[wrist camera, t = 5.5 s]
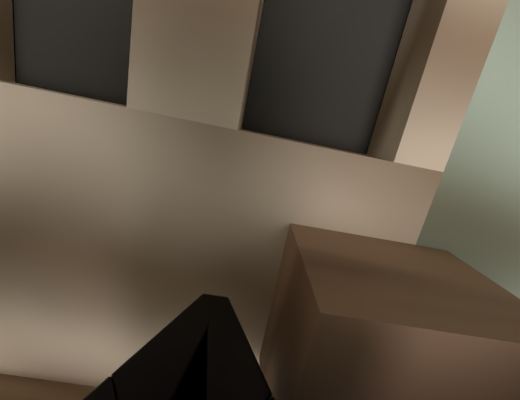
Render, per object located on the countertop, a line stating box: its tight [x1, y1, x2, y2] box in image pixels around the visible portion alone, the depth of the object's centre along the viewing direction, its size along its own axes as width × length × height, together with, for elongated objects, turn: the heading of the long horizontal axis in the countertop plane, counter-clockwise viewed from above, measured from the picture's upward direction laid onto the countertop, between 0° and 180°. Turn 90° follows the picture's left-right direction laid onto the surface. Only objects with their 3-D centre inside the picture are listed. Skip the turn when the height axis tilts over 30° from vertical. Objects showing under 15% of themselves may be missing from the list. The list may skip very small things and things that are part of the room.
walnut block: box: [259, 223, 520, 400], centre depth 7 cm, size 5×5×4 cm
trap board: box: [0, 0, 520, 400], centre depth 8 cm, size 18×22×4 cm
